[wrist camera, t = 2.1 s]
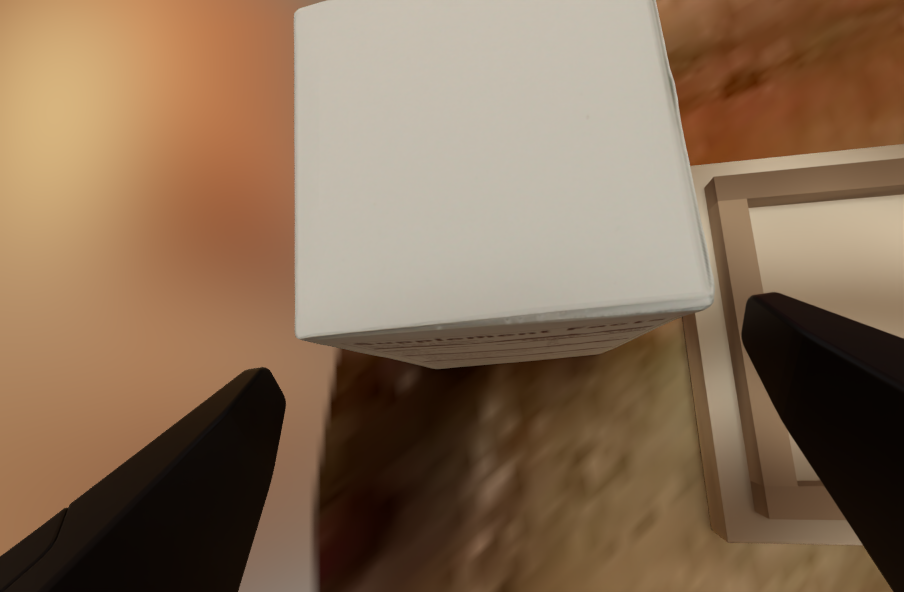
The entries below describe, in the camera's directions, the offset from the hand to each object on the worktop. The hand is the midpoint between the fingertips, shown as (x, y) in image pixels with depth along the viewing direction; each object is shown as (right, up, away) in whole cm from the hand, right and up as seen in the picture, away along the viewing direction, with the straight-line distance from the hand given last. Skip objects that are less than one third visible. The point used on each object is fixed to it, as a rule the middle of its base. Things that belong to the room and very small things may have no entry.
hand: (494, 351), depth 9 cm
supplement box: (+2, +2, +12) cm, 12 cm away
